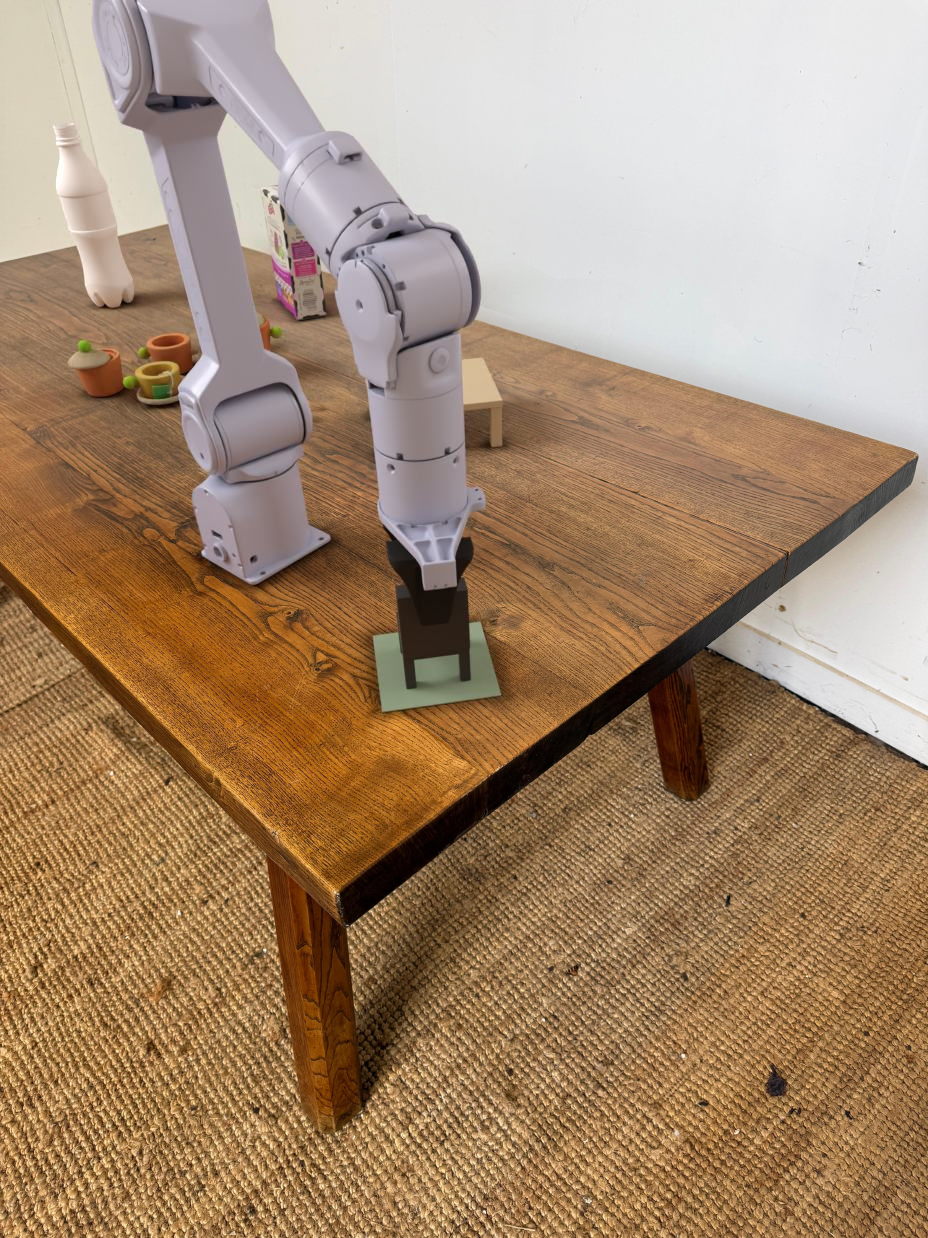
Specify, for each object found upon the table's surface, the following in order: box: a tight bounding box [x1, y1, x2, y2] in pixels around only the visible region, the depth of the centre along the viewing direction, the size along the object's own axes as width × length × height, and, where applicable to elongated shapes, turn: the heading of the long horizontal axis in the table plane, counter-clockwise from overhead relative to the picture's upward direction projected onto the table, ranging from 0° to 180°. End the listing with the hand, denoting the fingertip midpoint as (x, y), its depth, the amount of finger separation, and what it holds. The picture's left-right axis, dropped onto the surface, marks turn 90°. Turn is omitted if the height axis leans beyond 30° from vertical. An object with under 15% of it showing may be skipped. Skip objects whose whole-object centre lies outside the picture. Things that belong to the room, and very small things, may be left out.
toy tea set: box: [67, 311, 283, 406], centre depth 112 cm, size 26×16×10 cm, turn 126°
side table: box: [364, 357, 504, 448], centre depth 99 cm, size 12×14×6 cm
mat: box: [372, 621, 502, 714], centre depth 69 cm, size 9×9×1 cm
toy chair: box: [394, 576, 471, 689], centre depth 66 cm, size 5×5×9 cm
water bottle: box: [52, 122, 135, 309], centre depth 132 cm, size 7×7×25 cm
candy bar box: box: [260, 184, 328, 321], centre depth 130 cm, size 11×5×16 cm, turn 25°
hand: (432, 611), depth 63 cm, fingers closed
